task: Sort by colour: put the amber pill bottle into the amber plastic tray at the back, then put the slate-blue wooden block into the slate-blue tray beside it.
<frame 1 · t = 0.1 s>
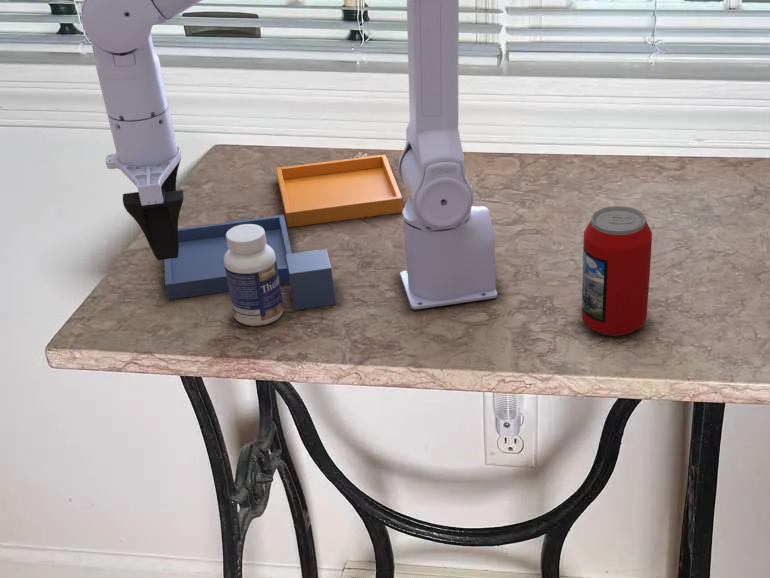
hand: (166, 239, 120), 10 cm above the table, tool pointing down, fingers open, 7 cm apart
beverage can: (613, 324, 124), on the table
pill bottle: (259, 316, 128), on the table
blue tray: (229, 262, 137), on the table
blue block: (313, 297, 130), on the table
amber tray: (339, 196, 149), on the table
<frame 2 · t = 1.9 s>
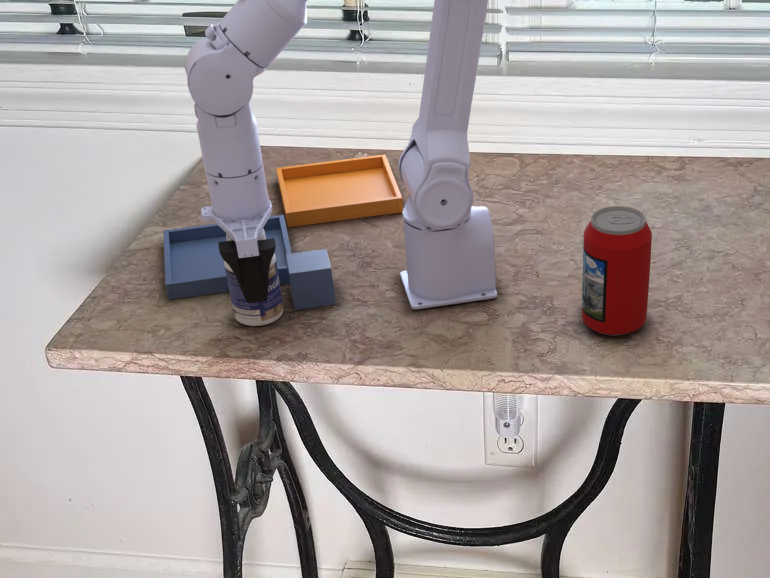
hand: (254, 286, 126), 3 cm above the table, tool pointing down, fingers closed on pill bottle, 5 cm apart
pill bottle: (259, 316, 128), on the table, touching gripper
everything else where it was.
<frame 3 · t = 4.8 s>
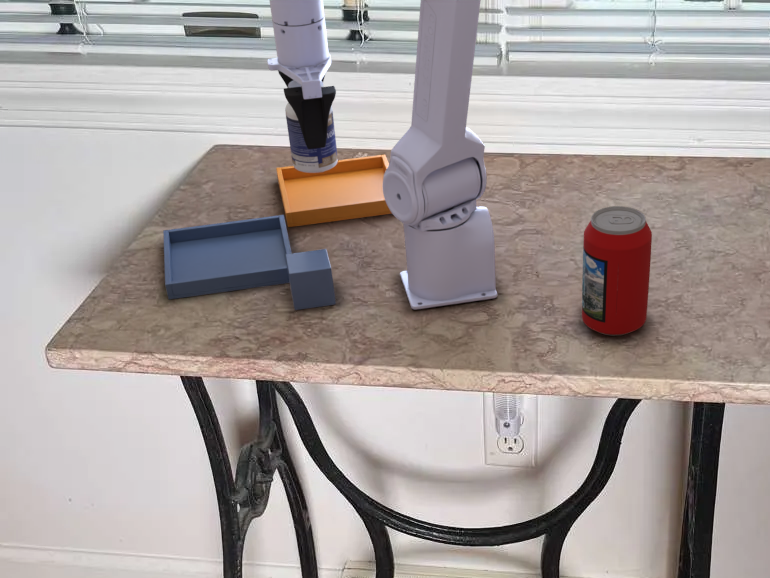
hand: (313, 136, 138), 10 cm above the table, tool pointing down, fingers closed on pill bottle, 5 cm apart
pill bottle: (316, 166, 140), point 7 cm above the table, touching gripper
everything else where it was.
when the fingers open (4 cm above the table, at t = 7.5 s): pill bottle stays where it is, resting on amber tray.
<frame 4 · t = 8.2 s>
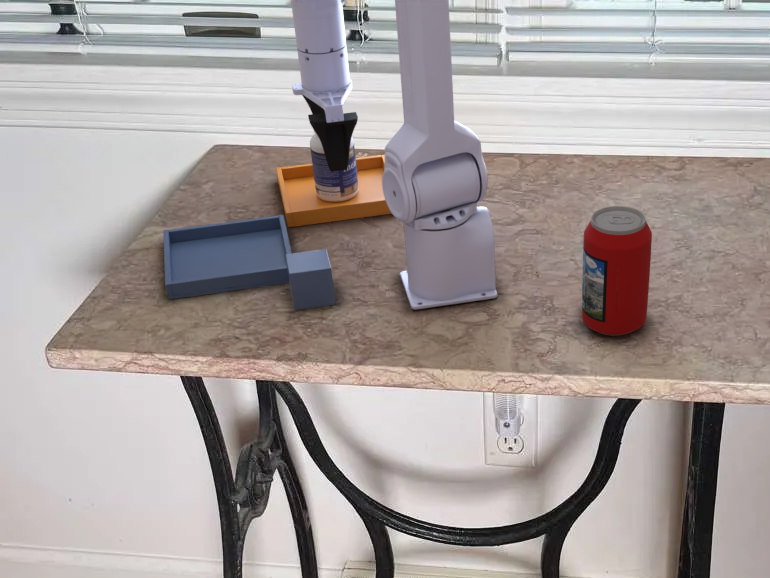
hand: (334, 156, 146), 5 cm above the table, tool pointing down, fingers open, 7 cm apart
pill bottle: (338, 195, 149), resting on amber tray
everything else where it was.
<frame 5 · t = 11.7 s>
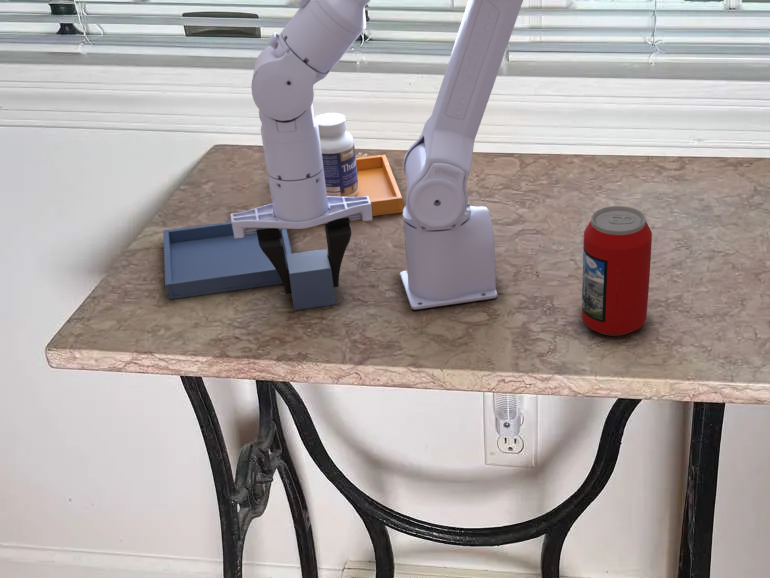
hand: (311, 286, 129), 1 cm above the table, tool pointing down, fingers closed on blue block, 4 cm apart
blue block: (313, 297, 130), on the table, touching gripper
everything else where it was.
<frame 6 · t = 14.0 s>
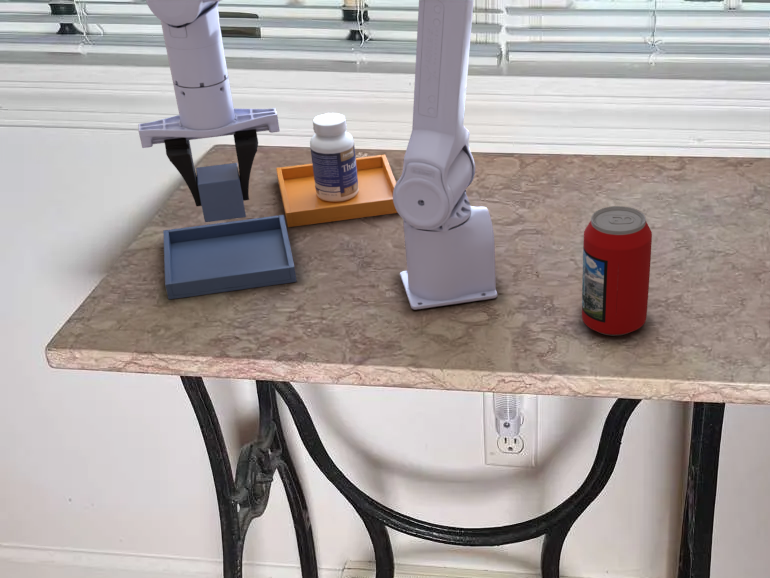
hand: (222, 199, 131), 8 cm above the table, tool pointing down, fingers closed on blue block, 4 cm apart
blue block: (224, 211, 132), point 7 cm above the table, touching gripper
everything else where it was.
when the fingers open (2 cm above the table, at t = 16.2 s): blue block stays where it is, resting on blue tray.
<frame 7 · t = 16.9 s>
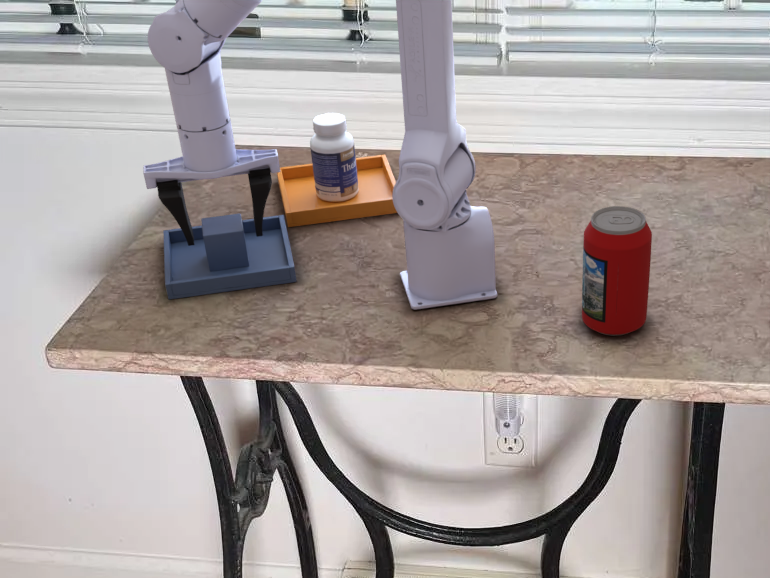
hand: (225, 237, 135), 3 cm above the table, tool pointing down, fingers open, 7 cm apart
blue block: (228, 259, 137), resting on blue tray
everything else where it was.
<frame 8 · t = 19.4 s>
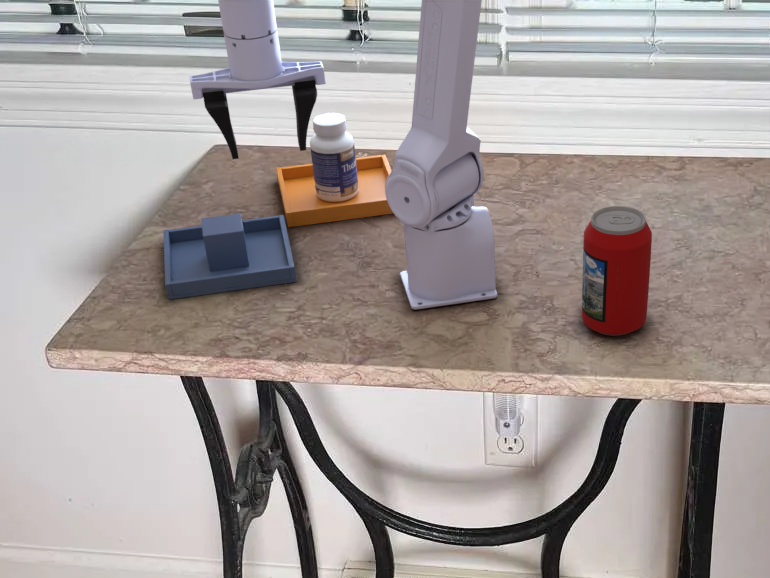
hand: (268, 151, 135), 10 cm above the table, tool pointing down, fingers open, 7 cm apart
nothing on the table moved.
at the end: pill bottle inside the target area in the amber tray (0.1 cm from its centre), point 0.2 cm above the amber tray's base; blue block inside the target area in the blue tray (0.1 cm from its centre), point 0.4 cm above the blue tray's base; pill bottle tilted 0° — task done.
